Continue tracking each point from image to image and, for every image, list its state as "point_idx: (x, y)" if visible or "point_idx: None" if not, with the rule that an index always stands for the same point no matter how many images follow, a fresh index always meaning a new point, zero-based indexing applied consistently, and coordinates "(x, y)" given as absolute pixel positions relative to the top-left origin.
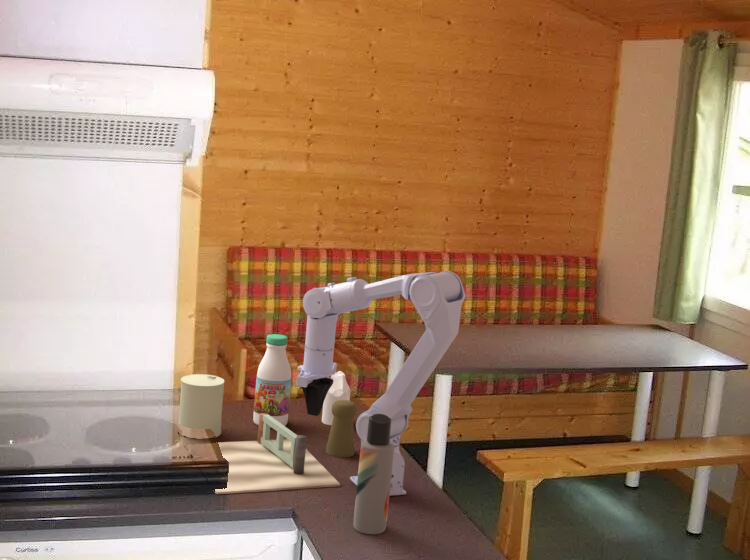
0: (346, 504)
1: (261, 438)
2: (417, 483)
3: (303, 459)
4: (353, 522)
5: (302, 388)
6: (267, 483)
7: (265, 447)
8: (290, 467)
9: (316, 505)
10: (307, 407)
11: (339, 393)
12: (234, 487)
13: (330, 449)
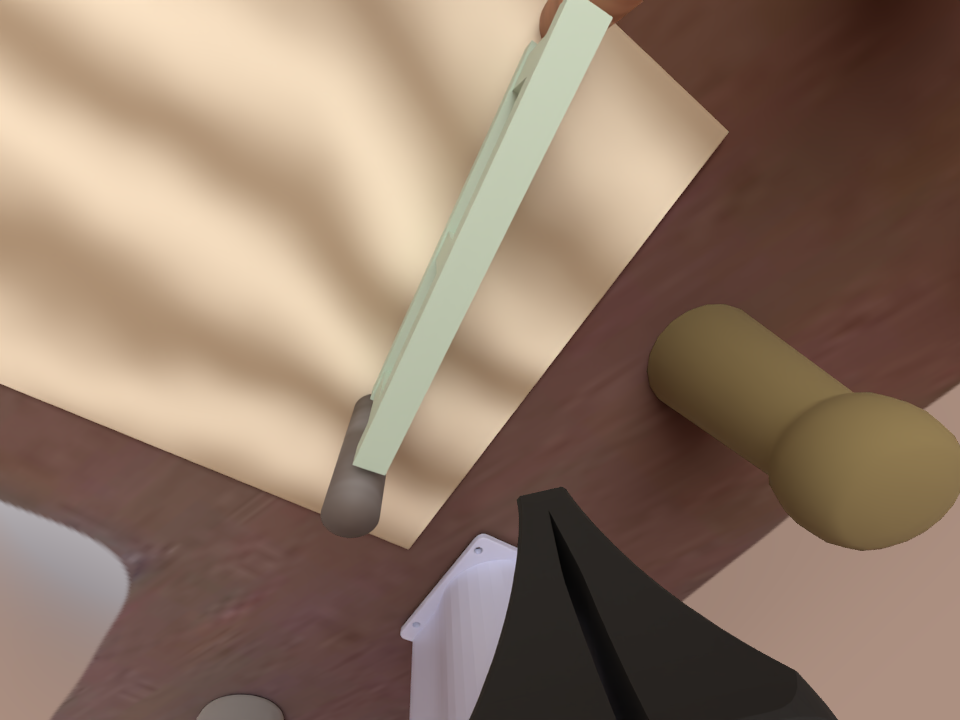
0: (311, 622)
1: (528, 47)
2: None
3: None
4: (207, 711)
5: (479, 703)
6: (183, 409)
7: None
8: None
9: (225, 587)
10: (519, 534)
11: None
12: (20, 358)
13: (664, 359)
